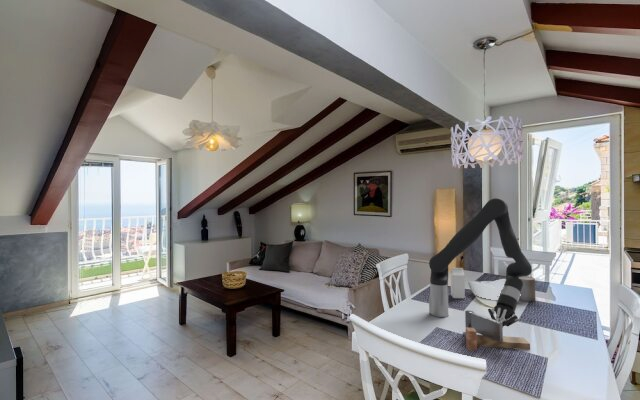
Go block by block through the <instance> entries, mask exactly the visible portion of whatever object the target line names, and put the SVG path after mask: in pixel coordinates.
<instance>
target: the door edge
mask: <svg viewBox="0 0 640 400" xmlns="http://www.w3.org/2000/svg"><path fill="white" fill-rule="evenodd" d="M462 336H464V337H465V347H466V346H467V347H466V348H467V350H468V351H476V350H478V347H488V348H489V347H490V348H502V347H503V349H505V348H506V349H519V350H531V343H530V342H529V341H528V340H527V339H526V338H525V337H521V336H519V337H518V336H504V335H503V342H498V341H496V340H493V339H491V338H488V337H486V336H484V335H481V334H478V333H477V332H476V330H475V329H474V328H467V327H466V326H465V331H464V332H462Z"/></svg>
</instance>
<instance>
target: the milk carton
mask: <svg viewBox="0 0 640 400" xmlns="http://www.w3.org/2000/svg"><path fill="white" fill-rule="evenodd" d="M465 276H466V275H465V272H464V268H463V267H451V270H450V296H451V297H452V298H453V299H464V298H465V299H466V288H465V287H466V283H465V281H466V280H465V279H466V277H465Z"/></svg>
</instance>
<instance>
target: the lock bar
mask: <svg viewBox="0 0 640 400" xmlns="http://www.w3.org/2000/svg"><path fill="white" fill-rule="evenodd" d="M464 312H465V314H464V315H465V317H464V318H465V321H464V322H465V328H466V327H467V328H474V329H475V330H476V332H477V334H478V335H484V336H486V337H488V338H491V339H493V340H496V341H498V342H503V336H504V335H503V334H504V333H503V330H504V329H503V328H504V326H502V322H499V321H496V320H493V319H492V318H490V317H488V316H485V315H481V314H478V313H476V312H474V311H472V310H465V311H464Z"/></svg>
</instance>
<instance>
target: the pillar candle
mask: <svg viewBox="0 0 640 400" xmlns="http://www.w3.org/2000/svg"><path fill="white" fill-rule="evenodd" d="M519 279H520V280H521V281H522V282H523V287H522V290H521V293H520V294H521V296H520V298H519V301H523V302H535V301H536V281H535V280H536V279H535V278H534V277H533V276H530V275H528V276H523V277H519Z"/></svg>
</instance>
